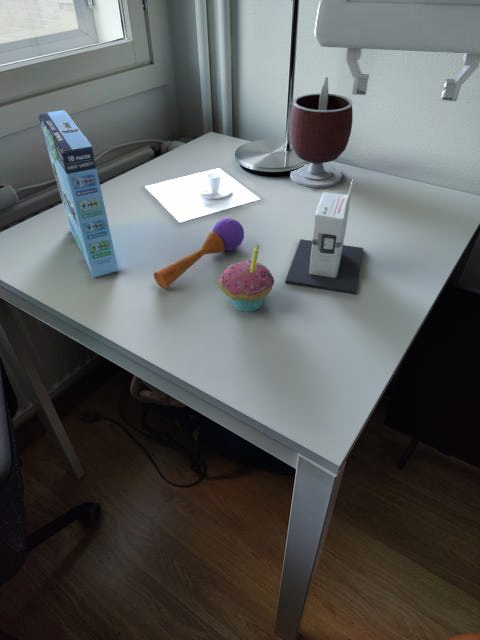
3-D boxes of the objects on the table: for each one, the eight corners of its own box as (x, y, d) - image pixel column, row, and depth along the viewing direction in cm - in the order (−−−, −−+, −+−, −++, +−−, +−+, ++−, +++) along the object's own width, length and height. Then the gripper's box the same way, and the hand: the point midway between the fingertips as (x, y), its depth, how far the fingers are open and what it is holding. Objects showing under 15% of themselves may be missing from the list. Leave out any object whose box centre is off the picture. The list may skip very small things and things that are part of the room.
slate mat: (362, 250, 88) (363, 247, 87) (355, 294, 78) (355, 291, 77) (300, 241, 90) (300, 239, 90) (285, 283, 80) (285, 280, 80)
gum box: (70, 229, 95) (35, 113, 80) (94, 223, 97) (65, 108, 82) (93, 279, 82) (57, 151, 67) (121, 271, 84) (92, 145, 69)
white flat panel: (203, 204, 102) (202, 187, 99) (188, 191, 107) (186, 174, 105) (238, 195, 105) (237, 178, 103) (221, 182, 111) (220, 165, 108)
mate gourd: (343, 191, 106) (356, 98, 93) (283, 186, 108) (287, 95, 95) (345, 164, 117) (357, 78, 104) (291, 160, 120) (296, 75, 106)
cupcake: (281, 297, 77) (285, 235, 69) (255, 326, 72) (256, 263, 64) (238, 281, 81) (237, 220, 73) (210, 308, 75) (205, 245, 67)
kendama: (144, 261, 79) (224, 210, 89) (155, 290, 82) (231, 237, 92) (165, 269, 75) (246, 215, 85) (176, 299, 79) (253, 243, 88)
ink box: (316, 249, 87) (324, 174, 77) (342, 253, 86) (354, 177, 76) (308, 274, 81) (315, 196, 71) (336, 279, 80) (348, 200, 70)
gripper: (315, -67, 41) (303, 98, 50) (570, -69, 37) (506, 112, 46) (326, -70, 46) (313, 82, 55) (554, -72, 41) (499, 94, 50)
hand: (403, 96), depth 50 cm, fingers open, 8 cm apart
